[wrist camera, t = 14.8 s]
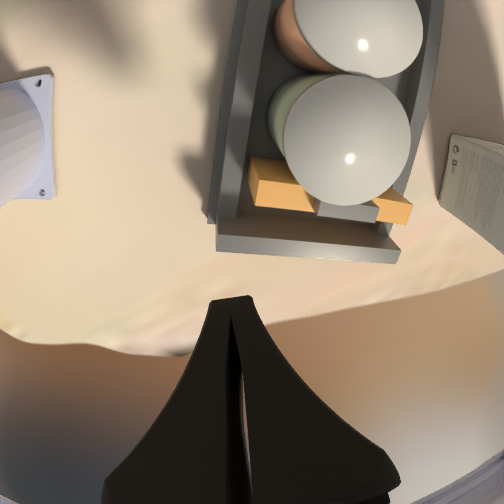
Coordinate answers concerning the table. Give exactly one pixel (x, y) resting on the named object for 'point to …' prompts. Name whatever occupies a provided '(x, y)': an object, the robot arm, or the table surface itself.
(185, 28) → the table surface
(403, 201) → the pusher
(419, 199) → the table surface
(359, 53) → the jar
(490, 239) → the skincare box
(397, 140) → the jar
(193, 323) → the table surface
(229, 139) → the grey rectangular tray
